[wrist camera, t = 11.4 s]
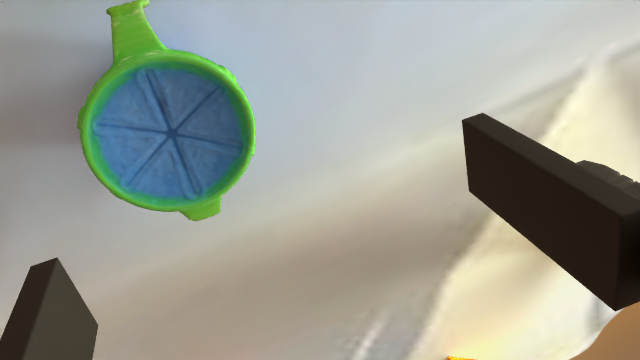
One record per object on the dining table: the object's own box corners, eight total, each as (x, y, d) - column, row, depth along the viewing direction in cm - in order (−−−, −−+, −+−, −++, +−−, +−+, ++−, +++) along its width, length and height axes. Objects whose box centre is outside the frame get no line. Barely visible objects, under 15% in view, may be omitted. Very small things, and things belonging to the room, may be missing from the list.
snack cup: (252, 168, 45) (275, 223, 36) (129, 197, 43) (122, 262, 34) (213, -19, 38) (230, -8, 29) (65, 4, 36) (34, 23, 27)
